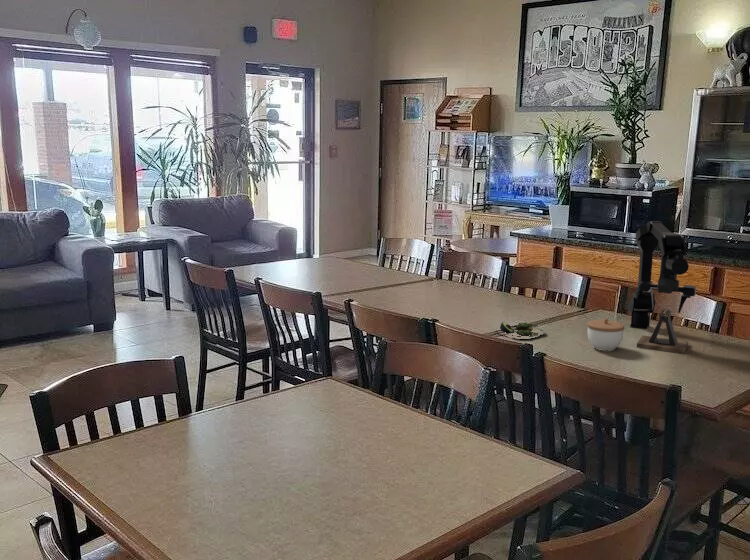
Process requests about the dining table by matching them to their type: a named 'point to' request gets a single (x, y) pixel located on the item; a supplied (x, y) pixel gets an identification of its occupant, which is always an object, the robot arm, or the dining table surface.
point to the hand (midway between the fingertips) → (665, 311)
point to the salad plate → (520, 329)
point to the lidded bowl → (605, 334)
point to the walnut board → (678, 348)
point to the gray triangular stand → (670, 330)
